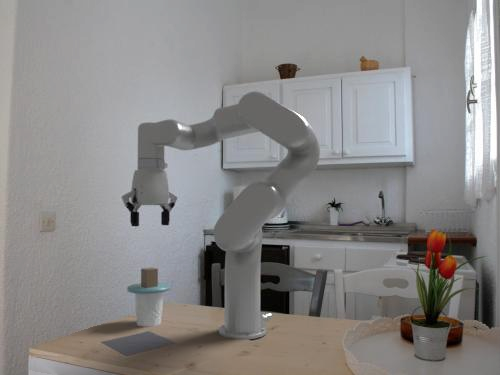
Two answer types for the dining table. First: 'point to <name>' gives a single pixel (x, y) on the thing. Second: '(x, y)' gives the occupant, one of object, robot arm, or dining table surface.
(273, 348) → the dining table surface
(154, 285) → the lid
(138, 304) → the white cup
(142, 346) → the mat
